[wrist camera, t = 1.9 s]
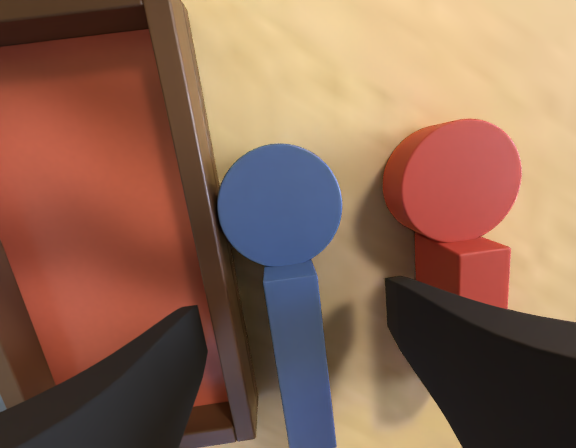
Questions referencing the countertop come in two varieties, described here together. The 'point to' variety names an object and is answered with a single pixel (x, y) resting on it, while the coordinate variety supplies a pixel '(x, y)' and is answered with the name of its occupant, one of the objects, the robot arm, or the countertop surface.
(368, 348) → the countertop surface
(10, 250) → the sorting tray
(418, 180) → the red spoon
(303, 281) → the blue spoon
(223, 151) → the countertop surface
